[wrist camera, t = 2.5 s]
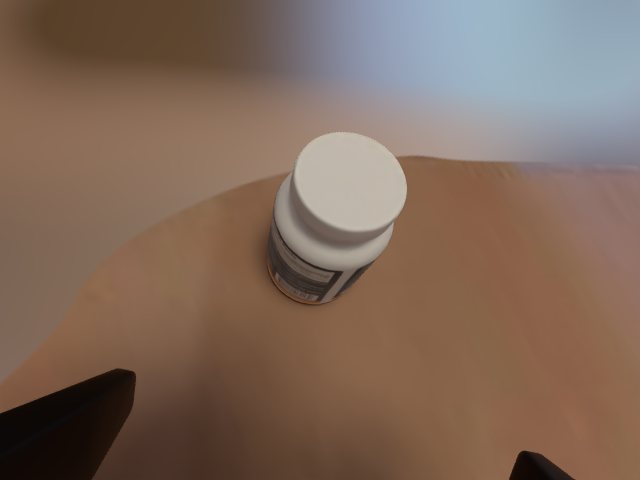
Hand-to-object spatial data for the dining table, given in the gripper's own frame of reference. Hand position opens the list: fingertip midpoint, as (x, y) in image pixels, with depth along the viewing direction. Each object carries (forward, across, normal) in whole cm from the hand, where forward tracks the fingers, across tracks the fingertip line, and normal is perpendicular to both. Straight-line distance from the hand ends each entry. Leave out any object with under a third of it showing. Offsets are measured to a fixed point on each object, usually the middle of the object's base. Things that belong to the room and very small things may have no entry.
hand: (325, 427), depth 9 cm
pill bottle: (+16, +1, +1) cm, 16 cm away
